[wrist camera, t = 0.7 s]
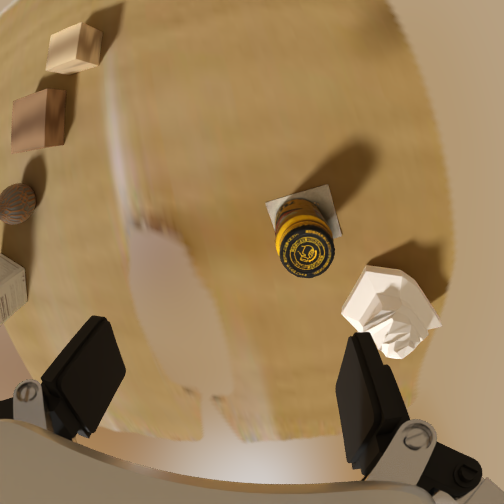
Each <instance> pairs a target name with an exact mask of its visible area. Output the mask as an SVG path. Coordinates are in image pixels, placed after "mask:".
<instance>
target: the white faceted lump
mask: <svg viewBox="0 0 504 504" xmlns="http://www.w3.org/2000/svg"><path fill="white" fill-rule="evenodd" d="M341 314H342V315H343V316H344V317H345V318H346V319H347V320H348V321H349V322H350V323H351V324H352V325H353V326H354V327H355V329H356V330H357V331H358V332H370V333H371V336H372V338H373V340H374V342H375V343H376V345H377V347H378V349H379V350H380V351H382V352H383V353H384V354H385V356H386V357H389V358H395V359H403V358H404V357H405V356H407V355H408V354H409V353H411V352H412V351H413V350H414V349H415V348H416V346H417V345H418V344H419V343H420V341H422V340H424V339H425V338H426V337H427V336H428V335H429V334H428V331H427V330H428V329H433V328H437V327H442V324H441V320H440V318H439V316H438V315H437V313H436V311H435V310H434V308H433V307H432V305H431V304H430V302H429V300H428V299H427V297H426V296H425V294H424V293H423V291H422V290H421V288H420V287H419V285H418V284H417V282H416V281H415V280H414V279H413V278H411V277H410V276H409V275H407V274H406V273H404V272H403V271H402V270H399V269H391V268H384V267H377V266H370V265H366V266H365V268H364V269H363V271H362V273H361V275H360V277H359V278H358V280H357V282H356V284H355V286H354V287H353V289H352V291H351V293H350V294H349V296H348V298H347V300H346V301H345V303H344V305H343V306H342V312H341Z"/></svg>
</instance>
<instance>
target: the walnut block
mask: <svg viewBox="0 0 504 504" xmlns="http://www.w3.org/2000/svg"><path fill="white" fill-rule="evenodd" d="M65 103H66V90H58V89H49V88H47V89H44V90H41V91H38V92H36V93H33V94H30V95H28V96H25V97H22V98H20V99H18V100H15V101H13V112H12V134H11V154H14V153H20V152H25V151H31V150H36V149H41V148H47V147H53V146H59V145H64V120H65Z"/></svg>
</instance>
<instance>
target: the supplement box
mask: <svg viewBox="0 0 504 504" xmlns="http://www.w3.org/2000/svg"><path fill="white" fill-rule="evenodd" d="M26 302H27V291H26V280H25V268H23V267H22V266H20V265H18V264H17V263H15V262H14V261H12V260H11V259H9V258H7V257H6V256H4V255H3V254H1V253H0V326H1V325H2V324H3V323H4V322H5V321H6V320H7V319H9V318H10V317H11V316H12V315H13V314H14V313H15V312H16V311H17V310H18V309H20V308H21V307H22V306H23V305H24V304H25V303H26Z"/></svg>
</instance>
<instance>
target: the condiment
mask: <svg viewBox="0 0 504 504" xmlns="http://www.w3.org/2000/svg"><path fill="white" fill-rule="evenodd" d="M314 202H315V203H316V204H315V203H314ZM317 203H318V204H319V205H317ZM266 206H267V209H268V212H269V215H270V218H271V221H272V224H273V227H274V230H275V236H276V238H275V243H276V249H277V253H278V255H279V256H280V259H281V262H282V264H283V266H284V267H285V268H286V269H287V270H288V271H289V272H290V273H292V274H293V275H295V276H297V277H302V278H313V277H315V276H318V275H321V274H322V273H324V272H325V271H326V270H327V269H328V268H329V266H330V264H331V263H332V261H333V259H334V255H335V248H334V243H333V239H334V238H337V237H340V236H342V235H341V231H340V227H339V223H338V219H337V215H336V211H335V208H334V204H333V200H332V196H331V193H330V189H329V185H328V184H327V185H323V186H320V187H316V188H313V189H310V190H306V191H303V192H299V193H296V194H292V195H289V196H286V197H282V198H279V199H276V200H273V201H270V202H267V203H266Z"/></svg>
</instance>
